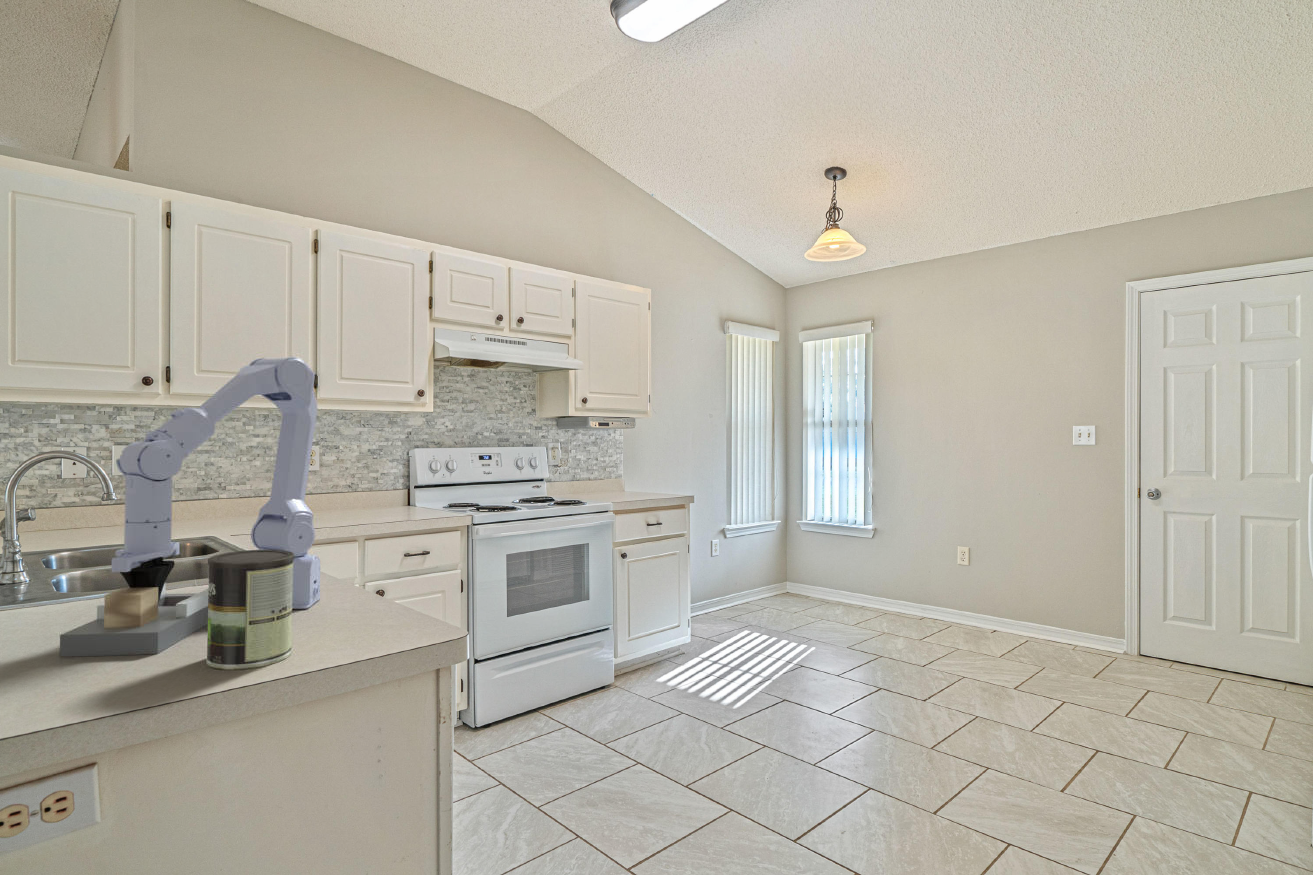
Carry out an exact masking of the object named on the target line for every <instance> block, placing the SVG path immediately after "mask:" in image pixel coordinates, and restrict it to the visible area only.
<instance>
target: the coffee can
mask: <svg viewBox="0 0 1313 875" xmlns="http://www.w3.org/2000/svg"><path fill="white" fill-rule="evenodd" d="M293 560H294V553H292V552H289V551H284V550H258V549H249V550H238V551H230V552H224V553H220V554H219V553H218V554H216V555H213V556H210V557H209V558H207V565H208V588H209V589H208V588H207V589H208V591H209V592H208V625H207V640H206V641H207V647H206V650H207V651H206V661H205V663H206V665H207V666H208V667H209V668H213V669H217V670H224V671H225V670H226V671H236V670H237V671H239V670H246V669H250V670H251V669H255V668H261V667H265V666H269V665H273V664H276V663H279V662H281V661H284V660H287V658H288V657H290V656H291V655H292V653H293V650H292V631H293V630H292V626H293V622H292V621H293V620H292V619H293V609H292V591H293Z"/></svg>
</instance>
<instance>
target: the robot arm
mask: <svg viewBox="0 0 1313 875" xmlns="http://www.w3.org/2000/svg"><path fill="white" fill-rule="evenodd" d="M315 377H316V374H315V372H314V371H313V370H312V369H311V367H310V366H309V365H308V364H307V363H306V361H304V359H302V358H300V357H297V356H290V357H289V356H288V357H281V358H263V357H262V358H256V359H253V361H251V362H250V363H249V364H248V365H245V366H243V367H242V368H240V369H239V371H238V372H237V374H235V376H234V377H233V378H231V379H230V380H228V381H227V383H226V384H224V386H222V387H220V389H218V390H217V391H216V392H214V394H213V395H212V396H210V397H209V398H208V399H207V400H206V401H205V402H203V403H202V404H201V405H200V406H199V407H198V408H195V407H184V408H183V409H175V410H174V411H172V412H170V416H171V418H170V419H168V420H167V421H166V422H164V423H163V424H161V425H160V426H159V427H158V428H156V429H155V430H149V431H148V432H146V433H145V434H144V436H145V438H144V441H143V440H139V441H133V442H131V443H130V444H128V445H126V447H124V448H123V449H122V451H121V454H120V456H119V458H117V459H116V460H115V461H116V462H115V463H116V464H115V465H116V466H117V470H118V471H119V472H120V473H121V474H122V475H123V477H124V479H125V481H124V483H125V484H124V486H125V487H124V488H125V489H124V533H123V534H124V536H123V537H124V540H123V543H124V545H123V548H122V549H118V550H116V551H115V556H116V557H113V558H112V559H111V573H120V574H121V576H122V577H123V578H124V580H125V581H126V584H128V588H149V587H158V603H159V600H160V596H161V593H162V589H163V586H164V584H165V585H166V583H165V582H166V581H167V579H168V577H169V575H170V574H171V572H172V570H173V569H174V568H175V561H174V560H164V559H165V558H167V557H171V556H178V555H180V542H179V541H178V542H175V541H174V542H172V522H173V521H172V517H173V516H172V513H173V512H172V510H173V509H172V508H173V505H172V504H173V476H175V475H177V474H178V473H179V472H180V470H181V469H182V466H183V461H184V460H185V459H186V458H187V457H188V456H189V455H190V454H192V453H193V452H194V451H196V450H197V449H198V448H199V447H201V446H202V445H203V444H204V443H206V441H207V440H209V439H211V437H213V436H214V435H215V433H216V423H217V422H219V421H220V420H222V419H224V417H226V416H228V415H229V414H230V413H232V412H234V411H235V410H236V409H237V408H238V407H239V408H240V406H241V405H243V404H244V403H246V402H247V401H249V400H250V399H251V398H252V397H255V396H262V397H263V398H264V399H266V400H268V401H269V402H271V403H273V405H275V406H276V408H277V409H278V410H279V412H280V413H281V414H282V416H281V423H280V429H279V437H278V443H277V449H276V456H275V462H274V463H275V464H274V469H273V478H272V482H271V484H272V485H271V491H270V497H269V499H268V501H267V502H266V503H265V504H264V505H262V507H261V508H260V509H259V513H258V516H257V519H256V521H255V523H254V524H253V525H252V528H251V531H250V540H251V543H252V544H253V546H254V547H255V548H256V549H257V550H284V551H289V552H292V553H294V560H293V591H292V610H294V609H295V610H296V609H297V610H300V609H305V610H306V609H309V608H310V607H311V606H313V605H314V604H315V603H316V602H318V601H319V600H320V599H321V598H322V596H321V561H320V557H319V556H318V555H316V554H312V555H311V554H308V551H309V550H310V549H311V548H312V546H313V544H314V543H315V542H314V541H315V538H316V532H315V531H316V530H315V527H314V524H313V523H314V522H313V520H314V513H313V511H312V510H311V509H310V508H309V506H308V505H307V504H306V503H305V498H306V490H307V484H308V477H309V472H310V462H311V457H312V449H313V443H314V442H313V441H314V434H315V428H316V419H317V415H318V414H317V413H318V403H317V398H316V393H315V390H314V385H315Z"/></svg>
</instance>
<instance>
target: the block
mask: <svg viewBox="0 0 1313 875" xmlns="http://www.w3.org/2000/svg"><path fill="white" fill-rule="evenodd" d="M103 603H104V628H117V627H141V626H143V625H145V624H147V623H149V622H151V621H153V620H155V619H157V618H158V587H149V588H130V587H123V588H120V589H118V590H115V591H112V592H109V593H107V594H104V602H103Z"/></svg>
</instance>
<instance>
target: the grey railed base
mask: <svg viewBox="0 0 1313 875" xmlns="http://www.w3.org/2000/svg"><path fill="white" fill-rule="evenodd" d="M208 589H209V587H208V588H206V589H205V590H202V591H200V592H198V593H197V592H193V593H192V592H191V593H166V581H165V584H164V586H163V589H162V593H161V596H160V600H159V603H158V618H157V619H155V620H153V621H151V622H149V623H147V624H145V625H143V626H141V627H117V628H104V603H105V602H102V603H101V604H98V605H96V619H94V620H92V621H90V622H86V623H84V624H82V625H80V626H78V627H76V628H73V629H70V630H68V631H65V632H64V633H61V634H59V657H60V658H68V657H69V658H70V657H99V656H101V657H102V656H128V655H131V656H134V655H136V656H137V655H158V654H160V653H162V652H163V651H165V650H167V649H168V648H170V647H172V646H174V645H176V644H177V643H179V642H180V641H182V640H183V639H186V638H187V637H189V636H190V635H193V634H194V633H196V632H197V631H199V630H201V629H202V628H204V627H206V626H208V592H209V591H208Z"/></svg>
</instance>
